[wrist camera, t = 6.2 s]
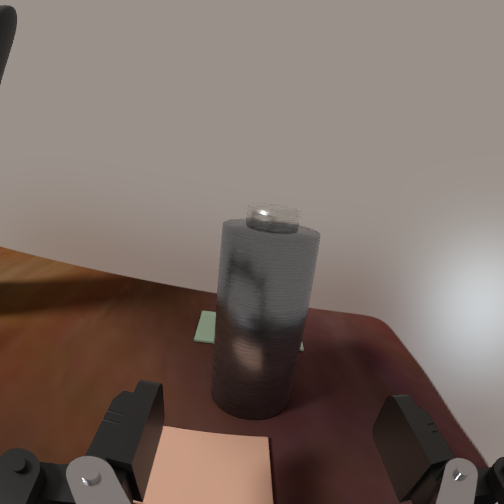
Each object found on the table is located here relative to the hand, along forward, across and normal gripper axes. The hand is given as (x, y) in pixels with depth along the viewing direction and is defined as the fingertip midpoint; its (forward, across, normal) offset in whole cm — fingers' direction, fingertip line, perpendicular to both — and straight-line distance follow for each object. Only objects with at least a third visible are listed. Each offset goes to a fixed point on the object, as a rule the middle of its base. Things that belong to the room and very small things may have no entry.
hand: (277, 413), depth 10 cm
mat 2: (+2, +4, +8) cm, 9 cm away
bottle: (+10, 0, +8) cm, 12 cm away
